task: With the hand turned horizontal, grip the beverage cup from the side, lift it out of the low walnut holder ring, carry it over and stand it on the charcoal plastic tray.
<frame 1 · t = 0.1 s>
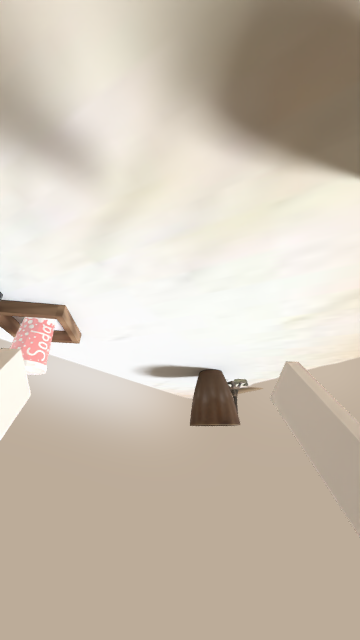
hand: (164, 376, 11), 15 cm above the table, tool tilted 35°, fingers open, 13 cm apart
holder: (41, 319, 37), on the table
plant pot: (210, 371, 70), on the table
beverage cup: (41, 318, 37), resting in holder
eiffel tower figurine: (234, 381, 86), on the table
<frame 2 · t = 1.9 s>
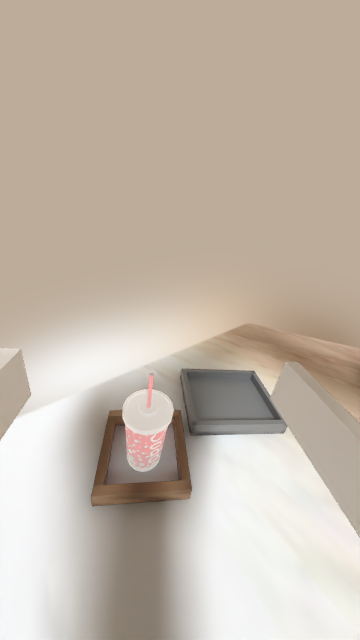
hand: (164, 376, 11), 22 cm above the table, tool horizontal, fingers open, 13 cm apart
holder: (144, 453, 29), on the table
beverage cup: (143, 454, 29), resting in holder
tray: (226, 402, 39), on the table
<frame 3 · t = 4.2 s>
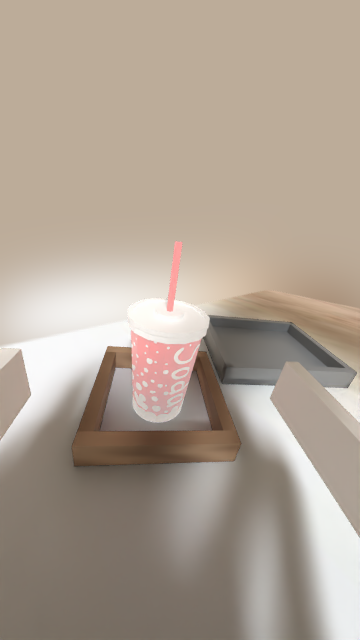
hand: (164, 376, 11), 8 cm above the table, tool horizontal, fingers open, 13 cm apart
holder: (157, 400, 19), on the table
beverage cup: (157, 402, 19), resting in holder
tray: (262, 352, 30), on the table
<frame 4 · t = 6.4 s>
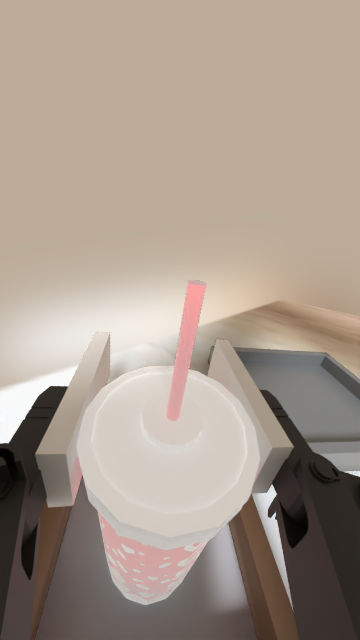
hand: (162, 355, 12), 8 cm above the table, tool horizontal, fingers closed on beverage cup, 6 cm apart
holder: (151, 533, 11), on the table
beverage cup: (150, 535, 11), resting in holder, touching gripper
tray: (296, 403, 22), on the table
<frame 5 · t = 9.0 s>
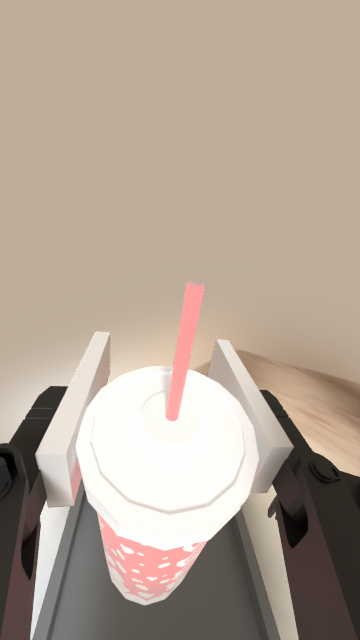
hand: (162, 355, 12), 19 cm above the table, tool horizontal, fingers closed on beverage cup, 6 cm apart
beverage cup: (150, 536, 11), point 11 cm above the table, touching gripper
tray: (157, 577, 17), on the table
when the fingers open (10 cm above the table, at t = 11.5 s): beverage cup stays where it is, resting on tray.
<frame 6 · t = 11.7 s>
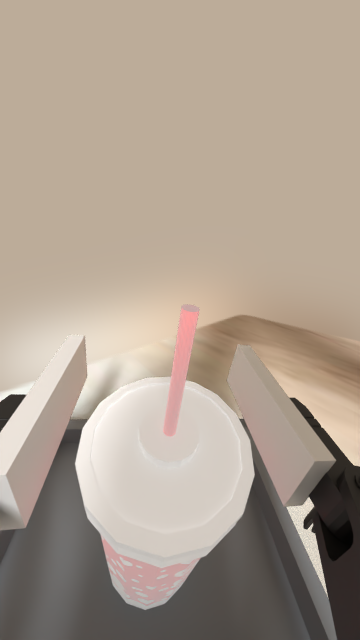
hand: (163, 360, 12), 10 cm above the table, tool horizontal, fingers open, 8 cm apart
beverage cup: (150, 541, 12), point 1 cm above the table, touching tray
tray: (149, 545, 12), on the table
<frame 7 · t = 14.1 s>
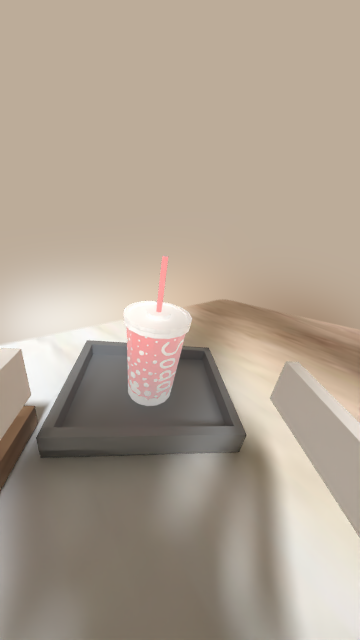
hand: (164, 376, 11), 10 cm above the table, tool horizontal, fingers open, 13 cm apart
beverage cup: (149, 390, 23), point 1 cm above the table, touching tray
tray: (148, 394, 23), on the table
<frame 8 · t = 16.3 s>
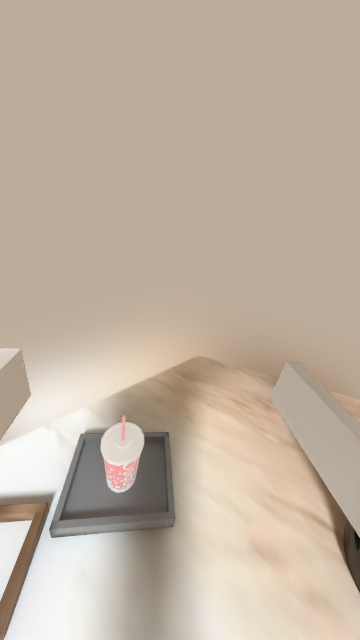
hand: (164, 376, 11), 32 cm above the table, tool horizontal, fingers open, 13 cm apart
beverage cup: (121, 476, 34), point 1 cm above the table, touching tray
tray: (121, 478, 34), on the table
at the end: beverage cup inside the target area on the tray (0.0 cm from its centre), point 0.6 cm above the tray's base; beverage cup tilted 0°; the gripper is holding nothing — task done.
